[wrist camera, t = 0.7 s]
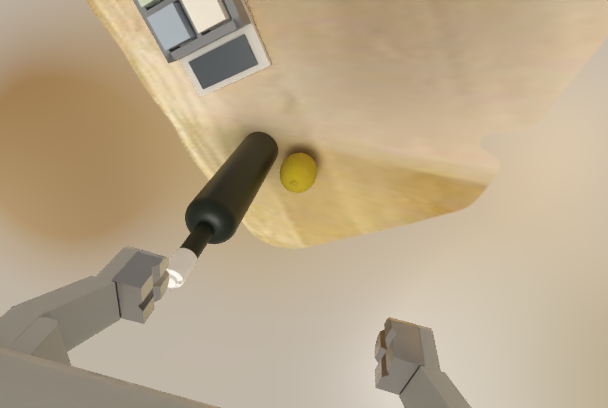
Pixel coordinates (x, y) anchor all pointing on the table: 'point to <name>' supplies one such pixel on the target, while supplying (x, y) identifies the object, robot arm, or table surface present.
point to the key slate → (172, 26)
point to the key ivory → (206, 13)
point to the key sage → (148, 3)
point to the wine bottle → (223, 202)
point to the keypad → (217, 48)
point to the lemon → (298, 172)
